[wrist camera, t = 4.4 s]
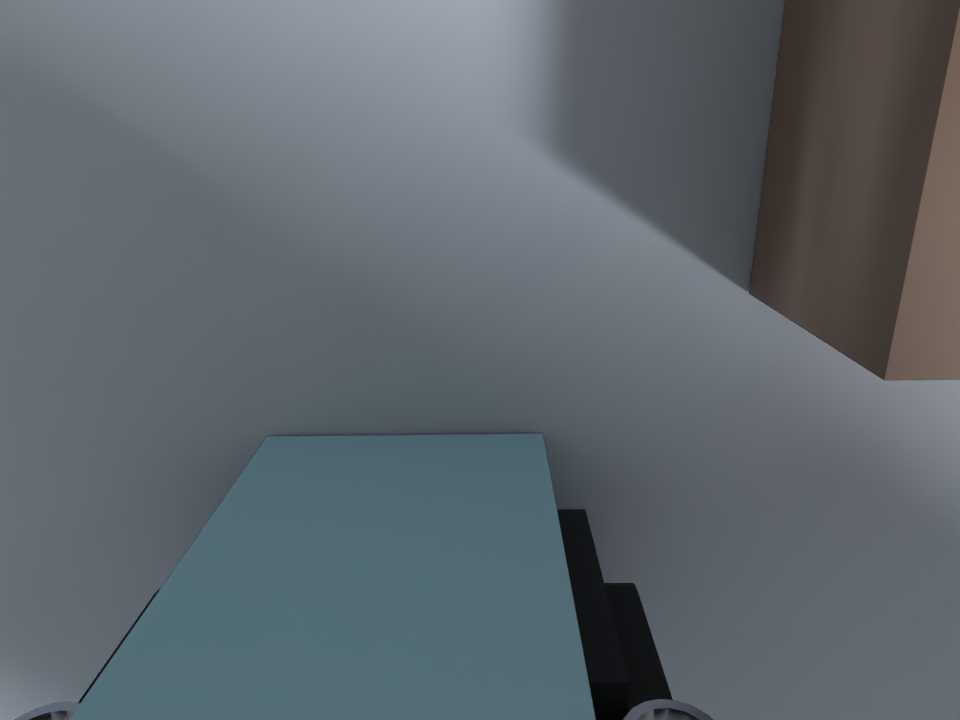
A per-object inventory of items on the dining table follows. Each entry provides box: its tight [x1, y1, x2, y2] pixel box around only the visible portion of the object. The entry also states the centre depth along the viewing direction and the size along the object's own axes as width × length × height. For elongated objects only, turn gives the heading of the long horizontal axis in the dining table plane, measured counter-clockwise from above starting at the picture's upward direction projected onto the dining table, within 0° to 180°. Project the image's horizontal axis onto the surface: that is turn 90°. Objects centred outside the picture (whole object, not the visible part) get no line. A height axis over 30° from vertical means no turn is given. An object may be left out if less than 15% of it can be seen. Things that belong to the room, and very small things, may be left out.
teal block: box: [69, 433, 596, 720], centre depth 10 cm, size 5×5×7 cm
